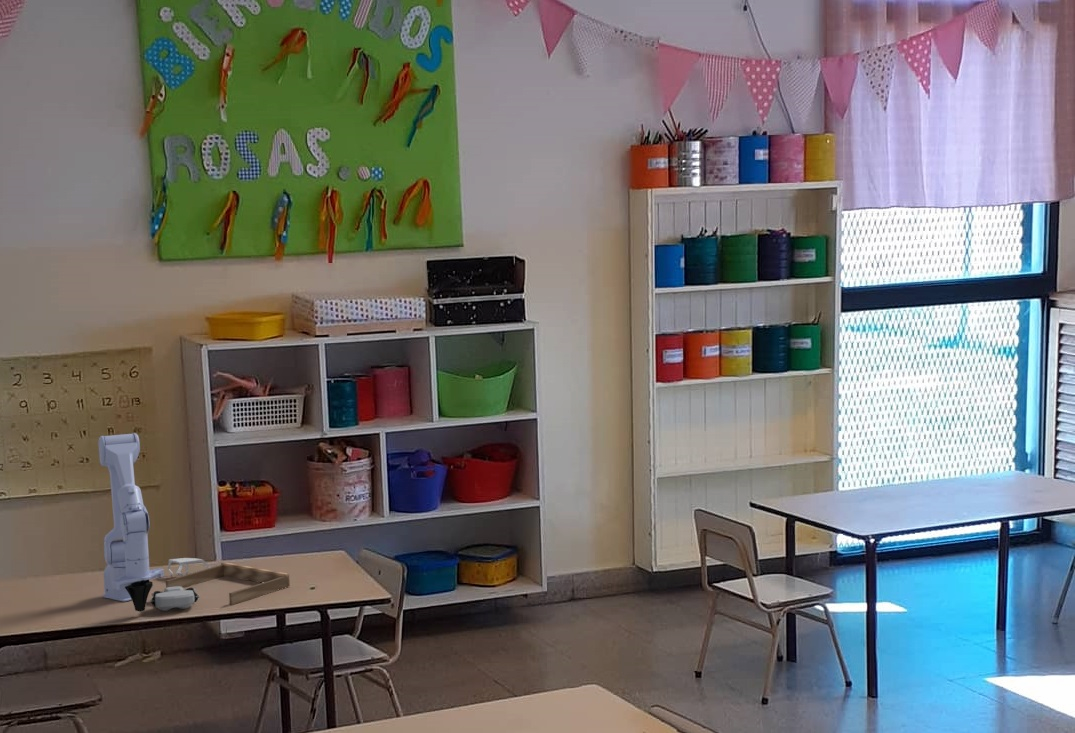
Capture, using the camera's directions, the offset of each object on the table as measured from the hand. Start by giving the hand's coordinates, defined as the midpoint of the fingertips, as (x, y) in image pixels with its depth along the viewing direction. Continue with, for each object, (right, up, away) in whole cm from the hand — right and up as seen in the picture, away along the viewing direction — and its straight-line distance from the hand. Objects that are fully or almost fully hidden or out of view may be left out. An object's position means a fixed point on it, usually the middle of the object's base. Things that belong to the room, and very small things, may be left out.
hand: (140, 610), depth 348 cm
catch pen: (+17, +2, +24) cm, 29 cm away
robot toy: (+6, -1, +9) cm, 11 cm away
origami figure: (+3, +2, +38) cm, 38 cm away
